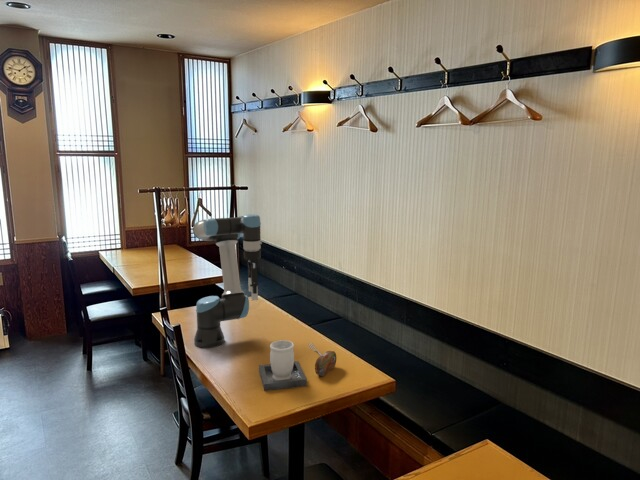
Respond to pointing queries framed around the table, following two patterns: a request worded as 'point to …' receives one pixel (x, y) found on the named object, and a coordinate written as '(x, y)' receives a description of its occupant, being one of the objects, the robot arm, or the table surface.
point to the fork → (314, 348)
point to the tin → (325, 363)
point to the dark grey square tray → (271, 384)
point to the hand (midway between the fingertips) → (253, 295)
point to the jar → (282, 359)
